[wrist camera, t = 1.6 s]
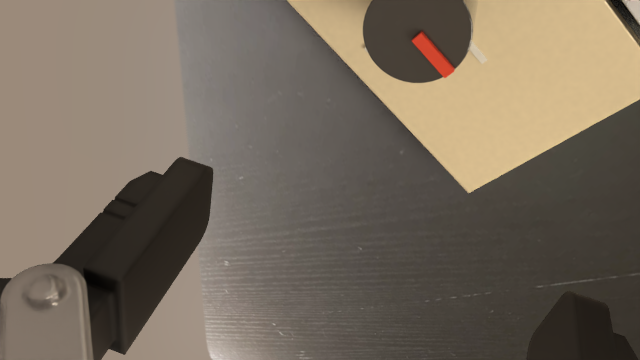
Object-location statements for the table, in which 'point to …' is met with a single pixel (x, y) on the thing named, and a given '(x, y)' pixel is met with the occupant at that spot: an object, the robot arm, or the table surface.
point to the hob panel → (502, 79)
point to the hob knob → (419, 36)
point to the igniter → (633, 8)
